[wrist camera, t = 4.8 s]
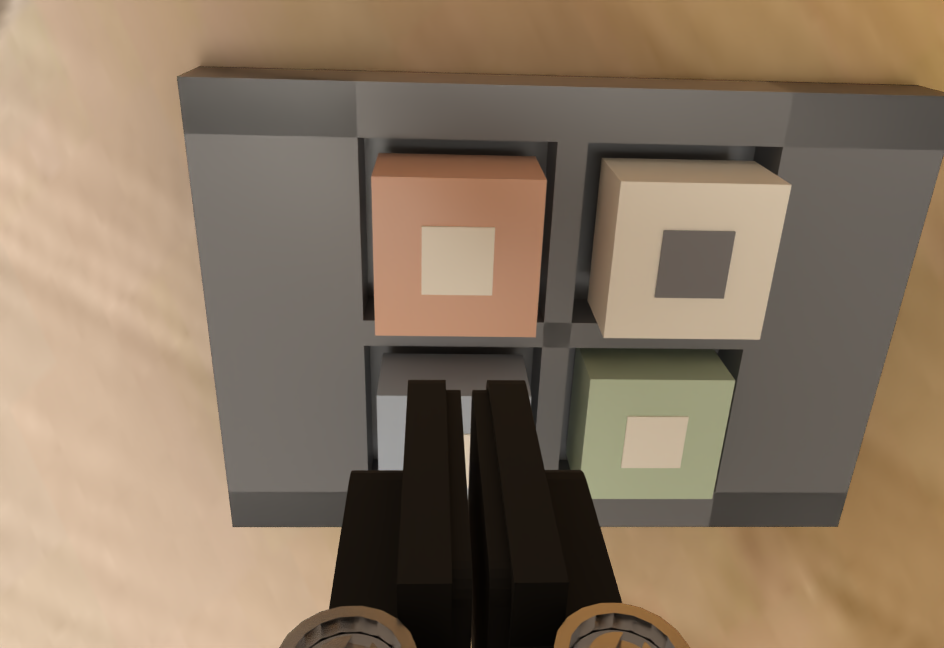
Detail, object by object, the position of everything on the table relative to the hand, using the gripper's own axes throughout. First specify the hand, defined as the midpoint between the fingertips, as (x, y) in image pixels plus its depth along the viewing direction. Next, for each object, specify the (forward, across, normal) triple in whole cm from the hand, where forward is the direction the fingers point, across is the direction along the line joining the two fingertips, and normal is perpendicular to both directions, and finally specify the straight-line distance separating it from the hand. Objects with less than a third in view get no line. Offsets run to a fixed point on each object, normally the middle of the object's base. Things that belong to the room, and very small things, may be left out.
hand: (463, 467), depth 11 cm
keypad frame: (+13, -3, +3) cm, 14 cm away
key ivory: (+12, -6, 0) cm, 13 cm away
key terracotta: (+12, 0, 0) cm, 12 cm away
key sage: (+12, -6, +6) cm, 15 cm away
